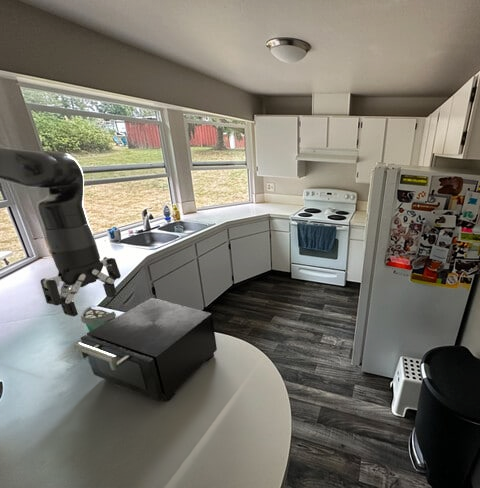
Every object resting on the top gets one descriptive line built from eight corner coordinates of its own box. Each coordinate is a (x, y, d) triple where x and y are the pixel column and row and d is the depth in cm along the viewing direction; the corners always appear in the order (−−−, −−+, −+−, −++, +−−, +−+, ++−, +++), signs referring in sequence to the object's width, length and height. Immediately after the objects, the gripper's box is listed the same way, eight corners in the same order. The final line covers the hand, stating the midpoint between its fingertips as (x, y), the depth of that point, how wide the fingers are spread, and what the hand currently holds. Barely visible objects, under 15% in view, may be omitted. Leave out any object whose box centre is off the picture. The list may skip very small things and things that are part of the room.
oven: (167, 405, 69) (155, 357, 64) (102, 378, 77) (86, 333, 71) (217, 354, 87) (211, 313, 82) (160, 336, 94) (151, 297, 89)
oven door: (144, 416, 63) (129, 366, 57) (76, 386, 70) (57, 339, 65) (163, 397, 68) (151, 350, 62) (98, 371, 75) (82, 326, 69)
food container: (78, 338, 92) (70, 315, 89) (96, 327, 98) (89, 306, 94) (104, 344, 90) (97, 321, 86) (121, 333, 95) (115, 311, 92)
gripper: (95, 233, 64) (111, 289, 69) (18, 253, 51) (46, 319, 56) (117, 237, 62) (132, 293, 68) (44, 258, 49) (70, 325, 55)
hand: (93, 305), depth 62 cm, fingers open, 8 cm apart
